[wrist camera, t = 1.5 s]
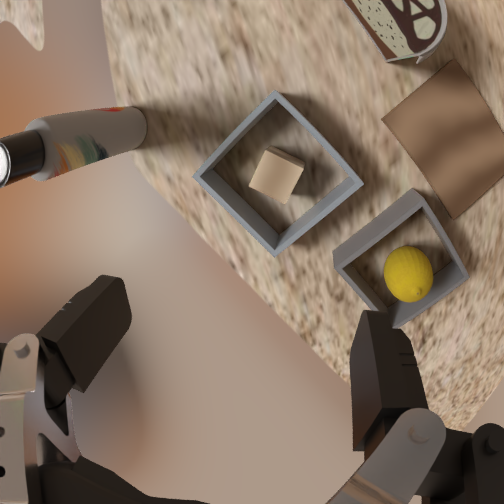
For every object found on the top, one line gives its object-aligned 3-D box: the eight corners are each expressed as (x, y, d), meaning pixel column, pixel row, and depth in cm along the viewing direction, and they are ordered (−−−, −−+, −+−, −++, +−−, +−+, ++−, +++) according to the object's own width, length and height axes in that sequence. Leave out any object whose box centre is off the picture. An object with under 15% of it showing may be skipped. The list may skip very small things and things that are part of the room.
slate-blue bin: (358, 175, 30) (364, 183, 26) (279, 241, 35) (274, 257, 32) (279, 92, 28) (275, 89, 24) (205, 169, 33) (191, 176, 29)
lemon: (400, 283, 34) (415, 324, 27) (369, 261, 34) (380, 299, 27) (429, 252, 32) (451, 287, 25) (398, 226, 31) (418, 258, 24)
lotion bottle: (109, 111, 32) (-25, 139, 14) (145, 101, 30) (4, 119, 13) (115, 153, 34) (-13, 204, 17) (151, 146, 33) (17, 196, 15)
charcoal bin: (457, 261, 31) (469, 277, 28) (386, 313, 36) (390, 332, 33) (412, 187, 29) (423, 198, 25) (332, 251, 34) (333, 267, 31)
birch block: (305, 162, 30) (303, 168, 27) (288, 193, 32) (285, 204, 29) (271, 145, 30) (265, 150, 27) (256, 177, 32) (248, 186, 29)
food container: (436, 56, 22) (479, 41, 13) (393, 74, 24) (425, 60, 15) (373, -32, 18) (389, -74, 9) (328, -16, 20) (330, -60, 12)
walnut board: (512, 160, 24) (516, 161, 23) (450, 217, 29) (453, 220, 28) (451, 60, 21) (455, 59, 20) (381, 119, 26) (383, 119, 26)
